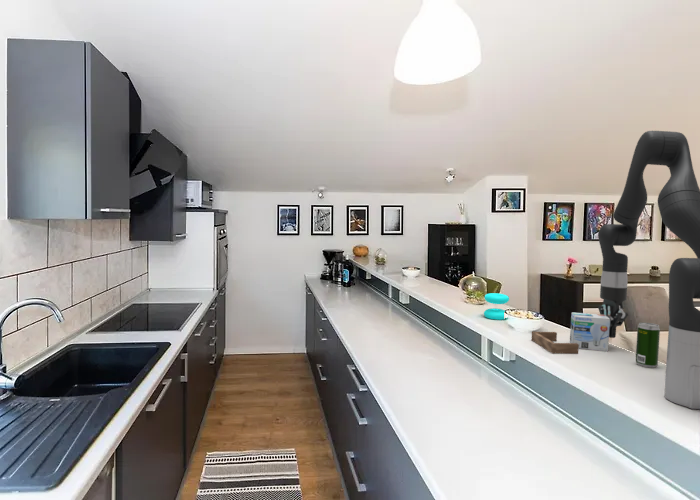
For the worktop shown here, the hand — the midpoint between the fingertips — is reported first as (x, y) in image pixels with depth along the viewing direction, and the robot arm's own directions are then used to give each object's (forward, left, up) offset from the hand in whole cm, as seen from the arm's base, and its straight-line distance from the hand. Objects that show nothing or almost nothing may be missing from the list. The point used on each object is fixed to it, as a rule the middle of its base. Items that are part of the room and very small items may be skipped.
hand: (610, 337), depth 146 cm
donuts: (+43, +23, -4) cm, 49 cm away
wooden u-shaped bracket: (0, +19, -3) cm, 19 cm away
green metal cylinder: (-18, 0, -4) cm, 18 cm away
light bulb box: (0, +7, -4) cm, 8 cm away
